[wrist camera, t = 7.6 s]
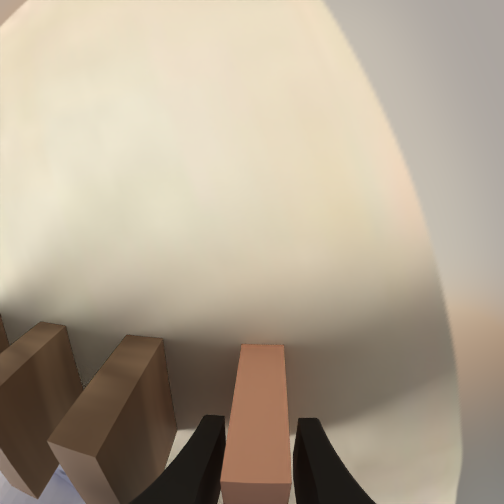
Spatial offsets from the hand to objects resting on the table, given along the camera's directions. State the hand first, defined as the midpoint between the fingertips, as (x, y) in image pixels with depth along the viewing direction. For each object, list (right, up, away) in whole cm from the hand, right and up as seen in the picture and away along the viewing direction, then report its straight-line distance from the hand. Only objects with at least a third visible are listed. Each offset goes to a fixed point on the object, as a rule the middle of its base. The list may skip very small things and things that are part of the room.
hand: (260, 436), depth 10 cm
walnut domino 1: (-9, +1, +3) cm, 9 cm away
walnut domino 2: (-4, +1, +2) cm, 5 cm away
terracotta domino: (0, +1, +2) cm, 2 cm away
